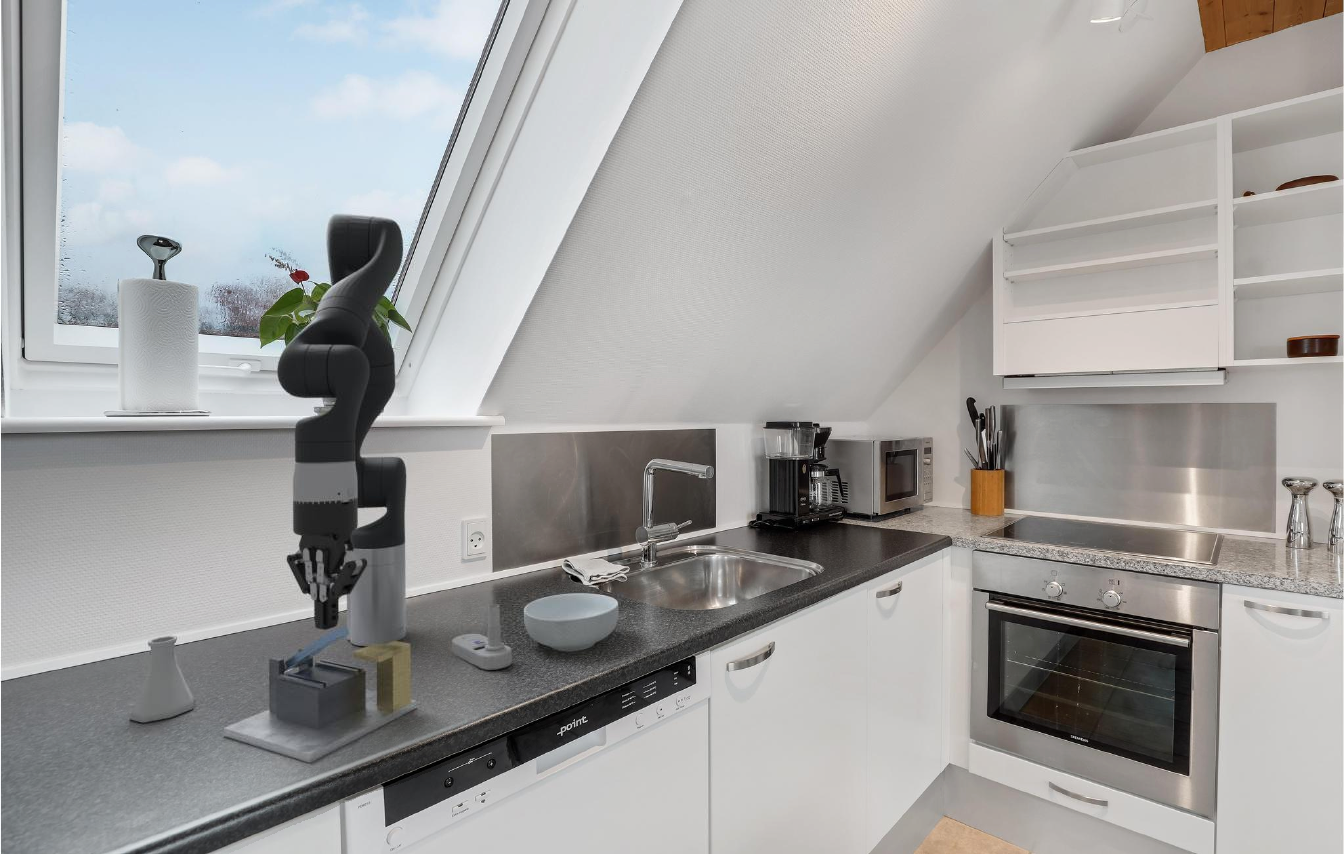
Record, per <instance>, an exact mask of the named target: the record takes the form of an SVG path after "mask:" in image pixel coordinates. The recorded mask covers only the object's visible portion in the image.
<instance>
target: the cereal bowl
mask: <svg viewBox="0 0 1344 854" xmlns="http://www.w3.org/2000/svg"><path fill="white" fill-rule="evenodd" d="M618 619H619V602H618V600H617V599H616V598H614V597H611V596H608V595H603V594H598V593H585V592H582V593H576V592H575V593H563V594H555V595H550V596H546V597H541V598H538V599H535V600H534V601H531V602H528V604H526V605H525V607H524V608H523V622H524V627H525V630H526V632H527V633H528V635H529V636H530V638H531V639H533V640H534V641H535V642H537V643H539V644H541V645H544V646H547V647H550V648H552V649H553V650H556V651H559V652H576V651H578V652H579V651H583V650H586V649H589V648H591V647H593V646H594V645H595V643H597V642H600V641H602V640H604V639H605V638H607V636H609V635H610V634H611V633H612V632H613V631H614V629H615V628H616V625H617V623H618Z"/></svg>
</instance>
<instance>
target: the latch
mask: <svg viewBox="0 0 1344 854" xmlns="http://www.w3.org/2000/svg"><path fill="white" fill-rule="evenodd" d="M411 655H412V654H411V643H408V642H402V641H399V640H398V641H393V642H390V643H387V644H381V643H375V644H373V645H370V646H364V647H362V648H360V649H357V650H354V651H353V658H354V659H359V660H365V661H370V662H373V663H374V662H375V663H376V691H377V709H381V710H385V711H389V712H395V711H397V710H399V709H401V708H403V707H405V706H407V705H409V704H411V700H412V692H411V691H412V688H411V687H412V686H411V683H412V681H411V678H412V676H411V674H412V671H411V670H412V668H411V667H412V665H411V657H412V656H411Z"/></svg>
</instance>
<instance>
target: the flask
mask: <svg viewBox="0 0 1344 854" xmlns="http://www.w3.org/2000/svg"><path fill="white" fill-rule="evenodd" d="M177 641H178V636H176V635H172V634H171V635H165V636H164V635H163V636H157V637H154V638H151V639H149V640H148V643H147V645H148V647H150V659H149V664H148V670H147V672H146V675H145V678H144V681H143V684H142V686H141V689H140V692H139V694H138V697H137V699H136V702H135V704H134V706H133V709H132V711H131V714H130V717H129V720H131V721H136V722H139V723H148V722H154V721H158V720H159V721H160V720H163V719H169V718H173V717H175V716H178V715H180V714H183V713H186V712H188V711H190V710H193V709H194V708H195V707H194V706H195V703H196V700H195V698H194V696H193V694H192V692H191V690H190V688H189V685H188V684H187V681H186V680H185V677H184V675H183V674H182V671H181V668H180V666H179V664H178V660H177V656H176V651H175V649H176V648H175V644H176V642H177Z"/></svg>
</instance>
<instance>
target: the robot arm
mask: <svg viewBox="0 0 1344 854" xmlns="http://www.w3.org/2000/svg"><path fill="white" fill-rule="evenodd" d="M325 234H326V236H325V237H326V239H325V240H326V242H325V243H326V252H327V261H328V262H327V263H328V270H329V271H328V272H329V276H330V284H331V286H330V288H329V289H328V290H327V291H326V292H325V293H324V295H323V296H322V297H321V300H320V301H319V303H318V306H317V309H316V311H315V314H314V315H313V318H312V321H311V322H310V323H309V324H307V325H306V326H305V327H304V328H303V329H302V330H301V331H300V332H299V333H298V334H297V335H296V336H295V337H293V339H292V340H291V341H290V342H289V343H288V344H287V345H286V346H285V347H284V349H283V351H282V353H281V355H280V357H279V360H278V361H277V362H278V363H277V367H276V368H277V370H276V371H277V379H278V382H279V384H280V386H281V388H282V389H283V390H284V391H285V392H286V393H287V394H289V395H290V396H292V397H295V398H302V399H335V402H334V404H333V406H332V407H331V408H330V410H329V411H327V412H325V413H322V414H317V415H312V416H307V417H303V418H301V419H300V420H297V422H296V424H295V428H294V442H295V443H294V462H295V463H294V469H293V471H294V472H293V476H292V530H293V531H292V532H293V533H294V534H295V535H298V536H300V540H299V543H298V548H299V549H298V550H297V551H296V552H295V553H291V554H288V555H287V556H286V563H287V564H288V566H289V569H290V571H291V573H292V575H293V576H294V579H295V580H296V583H297V584H298V587H299V588H300V591H301V592H302V594H303V595H306V594H308V595H309V596H310V598H311V600H312V601H313V606H314V607H313V609H314V610H313V612H314V613H313V615H314V618H313V619H314V627H315V628H316V629H319V630H326V631H327V630H329V629H332V628H336V627H337V626H338V624H339V623H338V622H339V617H340V616H339V613H340V612H339V604H340V603H339V600H340V598H341V597H343V596H346V627H347V629H348V631H349V634H348V635H347V636H346V639H347V640H349V641H350V643H351V644H352V645H355V646H361V647H367V646H370V645H373V644H375V643H381V644H387V643H390V642H393V641H398V642H399V641H400V640H402V639H404V638H405V636H406V635H407V634H406V633H407V632H406V631H407V630H406V628H407V625H406V624H407V623H406V621H407V619H406V615H407V614H406V613H407V611H406V610H407V609H406V607H407V605H406V604H407V603H406V602H407V601H406V599H407V598H406V597H407V596H406V593H407V592H406V588H407V587H406V528H405V527H406V525H405V524H406V523H405V522H406V520H405V518H406V514H405V513H406V494H407V493H406V492H407V467H406V464H405V461H404V460H403V459H402V458H401V457H398V456H376V457H375V456H374V457H373V456H371V457H369V456H368V457H362V455H361V449H362V446H363V443H364V441H365V439H366V436H367V434H368V433H369V431H370V429H371V428H372V426H373V424H374V422H375V421H376V419H378V417H379V416H380V414H381V413H382V411H383V410H384V408H386V405H387V404H388V402H390V400H391V398H392V396H393V393H394V392H395V388H396V363H395V362H396V360H395V357H396V356H395V351H394V348H393V346H392V344H391V343H390V341H389V339H388V337H387V336H386V334H385V333H384V331H383V330H382V329H381V327H380V326H379V325H378V323H377V322H376V320H375V319H374V317H373V316H374V313H375V311H376V308H377V307H378V305H379V303H380V301H381V300H382V298H383V297H384V295H385V294H386V292H387V291H388V289H389V287H390V286H391V284H392V282H393V281H394V279H395V277H396V275H397V274H398V272H399V270H400V267H401V265H402V262H403V257H404V256H403V255H404V239H403V234H402V230H401V228H400V225H399V224H398V223H397V221H395V220H394V219H392V218H387V217H382V216H375V215H373V216H372V215H364V214H352V213H343V212H342V213H336V212H335V213H332V214H331V215H330V217H329V218H328V220H327V224H326V232H325ZM371 508H373V509H375V508H385V509H386V512H385V514H384V515H383V516H381V517H379V518H378V519H376V520H375V521H373V522H370V523H367V524H365V525H362V526H358V525H359V523H358V522H359V521H358V519H359V517H358V513H359V512H358V509H371Z"/></svg>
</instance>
